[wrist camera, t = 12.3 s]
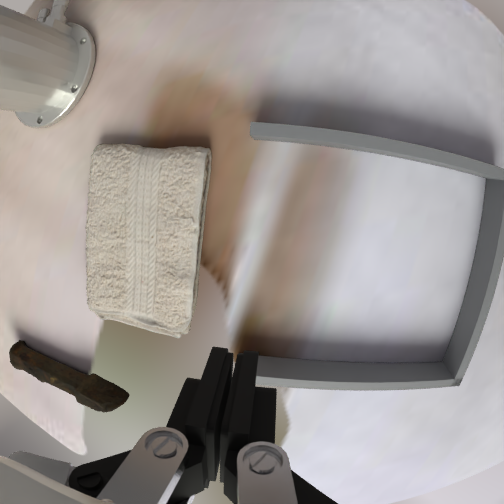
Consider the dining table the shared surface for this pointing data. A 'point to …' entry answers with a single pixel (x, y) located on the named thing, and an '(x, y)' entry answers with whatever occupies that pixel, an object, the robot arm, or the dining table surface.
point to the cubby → (476, 297)
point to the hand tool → (69, 379)
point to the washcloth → (146, 234)
